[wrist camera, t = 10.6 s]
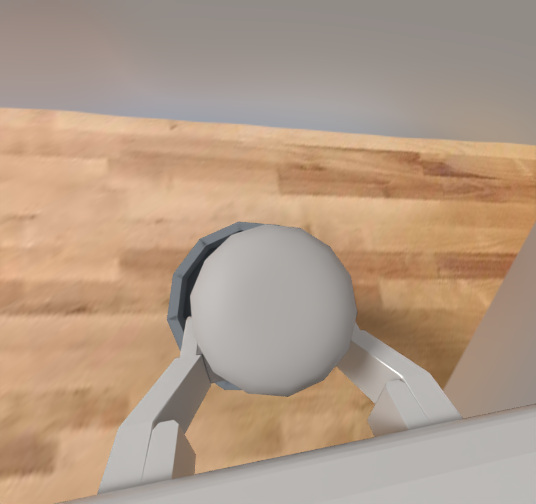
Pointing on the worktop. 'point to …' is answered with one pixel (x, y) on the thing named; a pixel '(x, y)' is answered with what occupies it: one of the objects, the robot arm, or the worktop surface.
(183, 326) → the bowl
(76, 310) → the worktop surface
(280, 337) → the salt shaker
